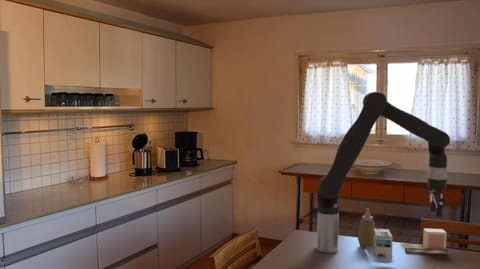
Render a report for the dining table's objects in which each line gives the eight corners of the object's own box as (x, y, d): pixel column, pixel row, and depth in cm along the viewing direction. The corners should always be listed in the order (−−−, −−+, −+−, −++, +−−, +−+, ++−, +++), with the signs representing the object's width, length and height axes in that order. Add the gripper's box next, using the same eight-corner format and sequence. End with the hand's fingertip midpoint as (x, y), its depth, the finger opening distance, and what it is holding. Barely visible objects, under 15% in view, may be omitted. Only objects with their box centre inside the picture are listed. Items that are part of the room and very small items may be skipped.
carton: (422, 248, 193) (423, 228, 192) (441, 249, 192) (442, 229, 191) (426, 252, 188) (426, 231, 187) (445, 253, 186) (446, 232, 186)
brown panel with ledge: (405, 256, 187) (405, 248, 187) (399, 246, 199) (399, 239, 199) (447, 258, 185) (447, 250, 184) (438, 248, 197) (438, 241, 196)
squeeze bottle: (378, 246, 199) (379, 208, 198) (373, 251, 193) (374, 211, 191) (360, 243, 204) (361, 205, 202) (355, 248, 197) (356, 209, 196)
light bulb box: (392, 261, 181) (393, 236, 180) (375, 260, 182) (376, 235, 181) (388, 252, 191) (389, 228, 190) (373, 251, 193) (373, 227, 192)
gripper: (423, 174, 195) (422, 209, 196) (433, 179, 180) (431, 218, 182) (441, 174, 193) (439, 210, 195) (452, 180, 179) (450, 218, 181)
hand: (435, 214), depth 188 cm, fingers open, 8 cm apart
